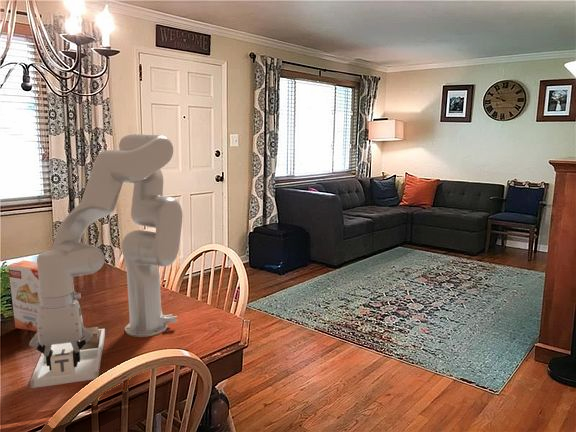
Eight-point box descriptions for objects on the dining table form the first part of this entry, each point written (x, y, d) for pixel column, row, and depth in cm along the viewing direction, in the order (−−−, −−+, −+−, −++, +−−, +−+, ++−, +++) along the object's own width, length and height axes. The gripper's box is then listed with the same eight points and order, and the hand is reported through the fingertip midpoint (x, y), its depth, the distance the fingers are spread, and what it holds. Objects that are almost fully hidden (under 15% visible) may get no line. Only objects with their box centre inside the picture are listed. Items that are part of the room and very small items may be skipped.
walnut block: (99, 341, 135) (98, 326, 134) (98, 348, 131) (96, 333, 130) (82, 343, 134) (81, 328, 133) (80, 350, 130) (79, 335, 129)
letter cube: (76, 364, 122) (74, 346, 121) (73, 373, 117) (72, 355, 116) (55, 366, 121) (53, 348, 120) (52, 376, 116) (50, 358, 115)
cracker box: (14, 329, 144) (6, 264, 140) (30, 321, 149) (24, 259, 145) (47, 336, 139) (41, 270, 135) (63, 328, 144) (57, 264, 140)
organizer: (105, 335, 140) (104, 328, 139) (98, 380, 115) (97, 372, 115) (50, 342, 135) (49, 334, 135) (30, 390, 111) (29, 381, 110)
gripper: (95, 291, 121) (100, 354, 125) (23, 297, 116) (30, 363, 120) (93, 301, 114) (98, 368, 118) (15, 308, 109) (23, 378, 113)
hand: (64, 365), depth 119 cm, fingers closed on letter cube, 4 cm apart
